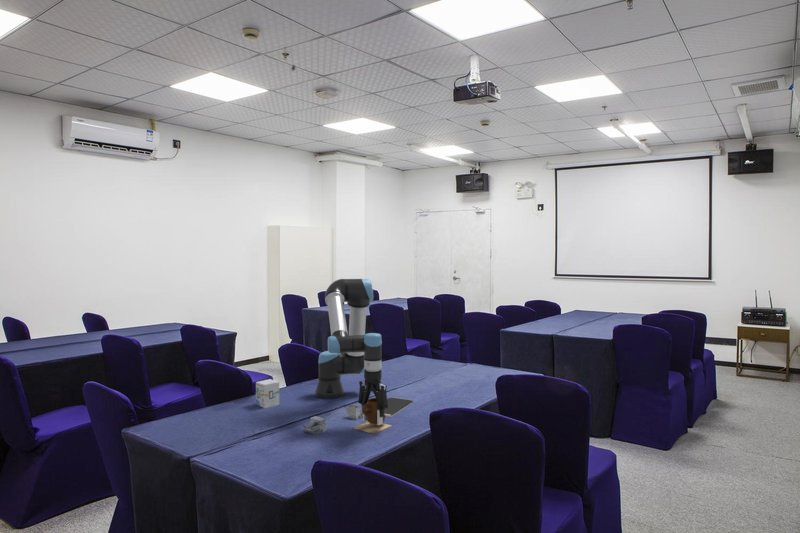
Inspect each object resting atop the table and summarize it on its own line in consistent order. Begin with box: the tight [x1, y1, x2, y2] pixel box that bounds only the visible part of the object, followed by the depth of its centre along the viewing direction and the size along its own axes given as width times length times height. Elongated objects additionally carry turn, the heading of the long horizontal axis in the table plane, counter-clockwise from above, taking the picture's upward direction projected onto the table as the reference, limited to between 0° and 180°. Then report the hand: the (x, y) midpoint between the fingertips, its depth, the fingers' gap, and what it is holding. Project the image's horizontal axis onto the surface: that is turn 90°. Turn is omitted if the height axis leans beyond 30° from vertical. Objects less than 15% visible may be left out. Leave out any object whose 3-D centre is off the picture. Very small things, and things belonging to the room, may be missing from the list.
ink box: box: [255, 378, 280, 409], centre depth 250 cm, size 8×8×12 cm
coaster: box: [352, 421, 393, 435], centre depth 217 cm, size 12×12×1 cm
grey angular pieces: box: [302, 404, 363, 436], centre depth 221 cm, size 7×33×5 cm, turn 142°
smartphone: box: [385, 396, 414, 418], centre depth 246 cm, size 13×27×2 cm, turn 155°
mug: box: [361, 397, 386, 424], centre depth 217 cm, size 12×8×9 cm, turn 138°
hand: (372, 422), depth 217 cm, fingers closed on mug, 7 cm apart
